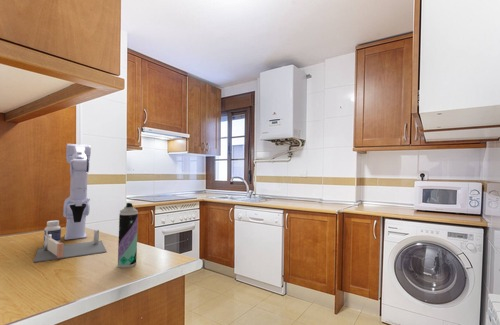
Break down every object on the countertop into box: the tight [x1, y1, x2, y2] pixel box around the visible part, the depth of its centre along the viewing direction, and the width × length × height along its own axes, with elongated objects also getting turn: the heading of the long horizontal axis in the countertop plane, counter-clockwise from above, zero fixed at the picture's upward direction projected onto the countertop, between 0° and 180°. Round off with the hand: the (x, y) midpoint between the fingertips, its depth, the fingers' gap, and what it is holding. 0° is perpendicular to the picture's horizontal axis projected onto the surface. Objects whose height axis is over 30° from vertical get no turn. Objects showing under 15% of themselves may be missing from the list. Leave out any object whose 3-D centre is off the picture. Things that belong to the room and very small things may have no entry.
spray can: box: [117, 202, 139, 269], centre depth 85 cm, size 6×6×20 cm
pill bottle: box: [43, 219, 62, 247], centre depth 104 cm, size 5×5×10 cm
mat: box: [32, 240, 108, 264], centre depth 98 cm, size 18×21×1 cm
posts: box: [43, 229, 100, 251], centre depth 101 cm, size 2×17×6 cm, turn 125°
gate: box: [47, 238, 64, 258], centre depth 92 cm, size 13×1×5 cm, turn 51°
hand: (77, 222), depth 105 cm, fingers closed
